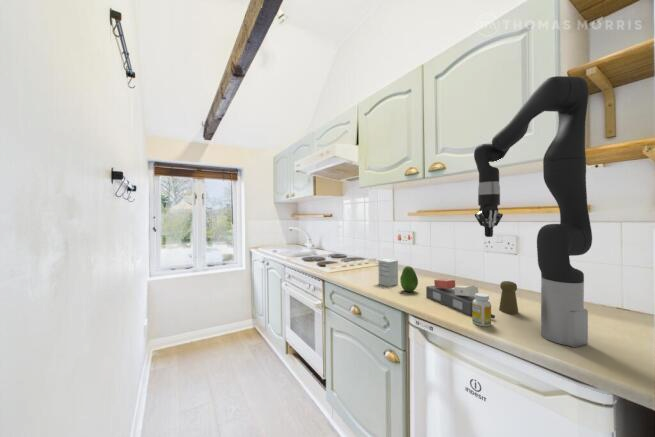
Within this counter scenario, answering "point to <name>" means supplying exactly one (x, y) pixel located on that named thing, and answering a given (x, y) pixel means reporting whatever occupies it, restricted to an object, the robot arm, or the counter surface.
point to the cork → (508, 298)
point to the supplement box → (388, 272)
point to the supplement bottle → (481, 310)
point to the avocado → (409, 279)
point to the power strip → (451, 299)
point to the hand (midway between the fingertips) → (488, 236)
